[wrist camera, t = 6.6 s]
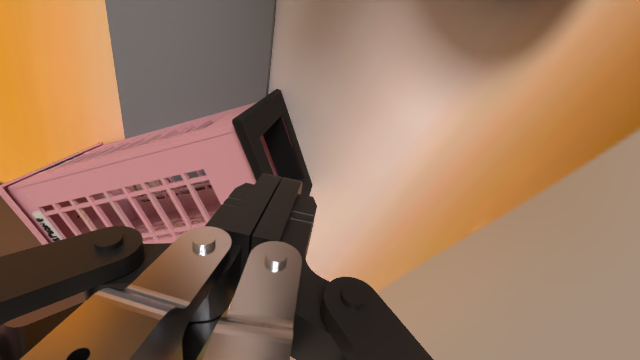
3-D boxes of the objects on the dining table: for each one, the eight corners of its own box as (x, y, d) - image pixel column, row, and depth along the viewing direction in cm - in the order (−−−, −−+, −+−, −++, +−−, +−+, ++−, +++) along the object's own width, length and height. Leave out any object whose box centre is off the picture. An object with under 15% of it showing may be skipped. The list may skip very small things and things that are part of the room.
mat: (280, -41, 19) (278, -43, 18) (258, 196, 27) (256, 199, 26) (99, -77, 19) (93, -80, 18) (133, 169, 27) (129, 171, 27)
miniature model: (317, 187, 26) (139, 227, 31) (280, 82, 22) (87, 146, 27) (295, 255, 18) (59, 293, 23) (232, 107, 14) (-30, 191, 19)
